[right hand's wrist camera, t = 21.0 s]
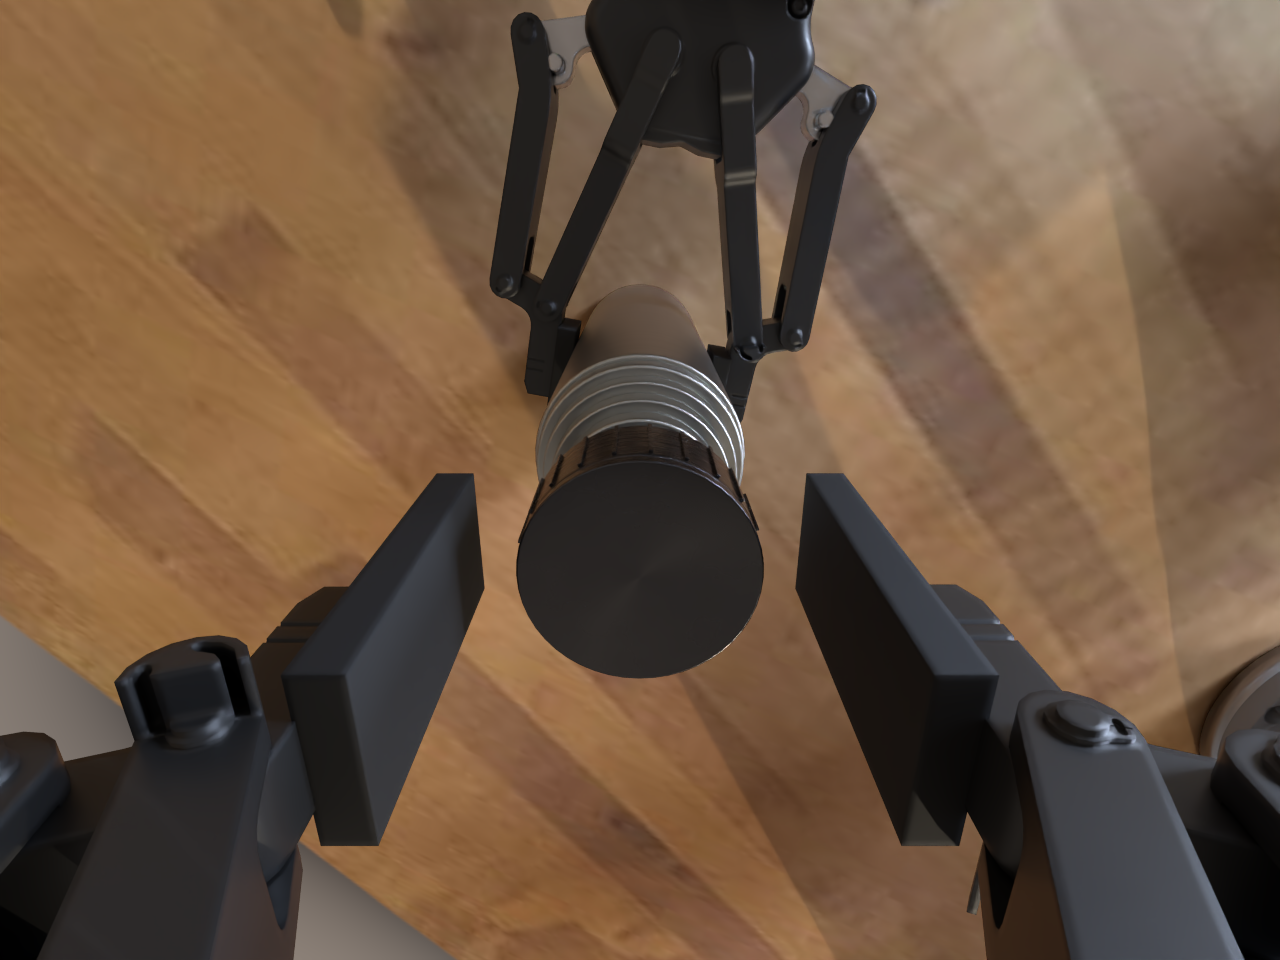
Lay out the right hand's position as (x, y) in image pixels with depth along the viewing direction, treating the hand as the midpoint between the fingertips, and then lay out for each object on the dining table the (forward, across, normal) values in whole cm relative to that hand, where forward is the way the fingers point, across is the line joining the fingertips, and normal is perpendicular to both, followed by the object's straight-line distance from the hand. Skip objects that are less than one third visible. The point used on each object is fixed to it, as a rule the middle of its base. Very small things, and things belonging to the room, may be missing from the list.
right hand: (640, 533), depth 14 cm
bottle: (+23, 0, 0) cm, 23 cm away
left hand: (+16, -1, -5) cm, 17 cm away
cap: (-2, 0, 0) cm, 2 cm away
